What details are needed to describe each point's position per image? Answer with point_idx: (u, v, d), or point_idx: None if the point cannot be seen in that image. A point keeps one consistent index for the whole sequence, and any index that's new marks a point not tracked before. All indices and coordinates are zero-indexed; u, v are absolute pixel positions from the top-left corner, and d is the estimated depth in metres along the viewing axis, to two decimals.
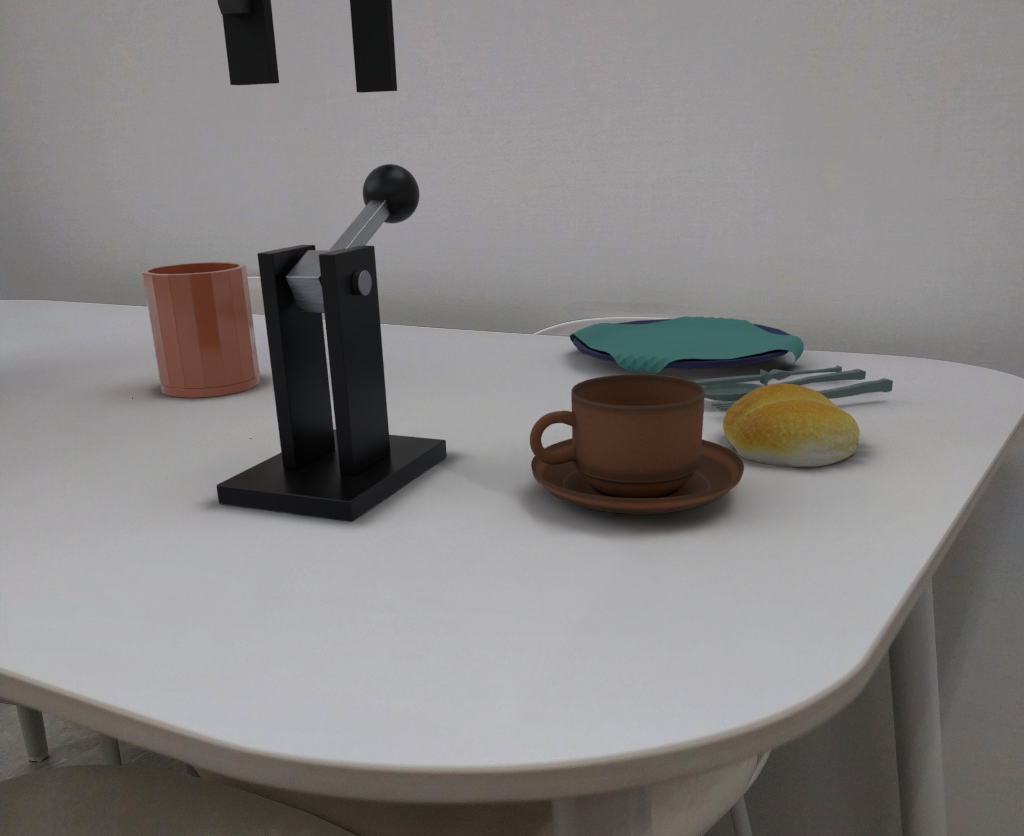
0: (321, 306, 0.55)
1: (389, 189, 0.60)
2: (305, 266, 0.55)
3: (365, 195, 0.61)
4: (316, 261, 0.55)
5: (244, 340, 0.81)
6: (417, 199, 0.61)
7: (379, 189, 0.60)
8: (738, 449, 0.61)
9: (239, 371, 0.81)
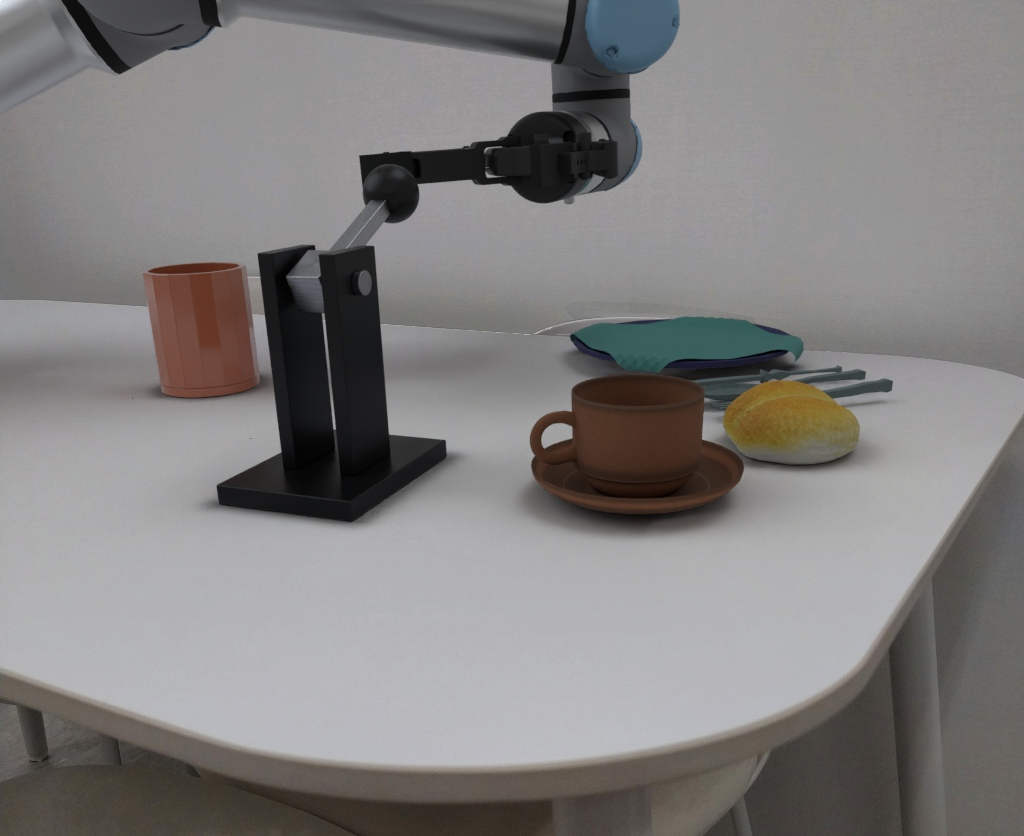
0: (321, 306, 0.55)
1: (389, 189, 0.60)
2: (305, 266, 0.55)
3: (365, 195, 0.61)
4: (316, 261, 0.55)
5: (244, 340, 0.81)
6: (417, 199, 0.61)
7: (379, 189, 0.60)
8: (738, 446, 0.61)
9: (239, 371, 0.81)
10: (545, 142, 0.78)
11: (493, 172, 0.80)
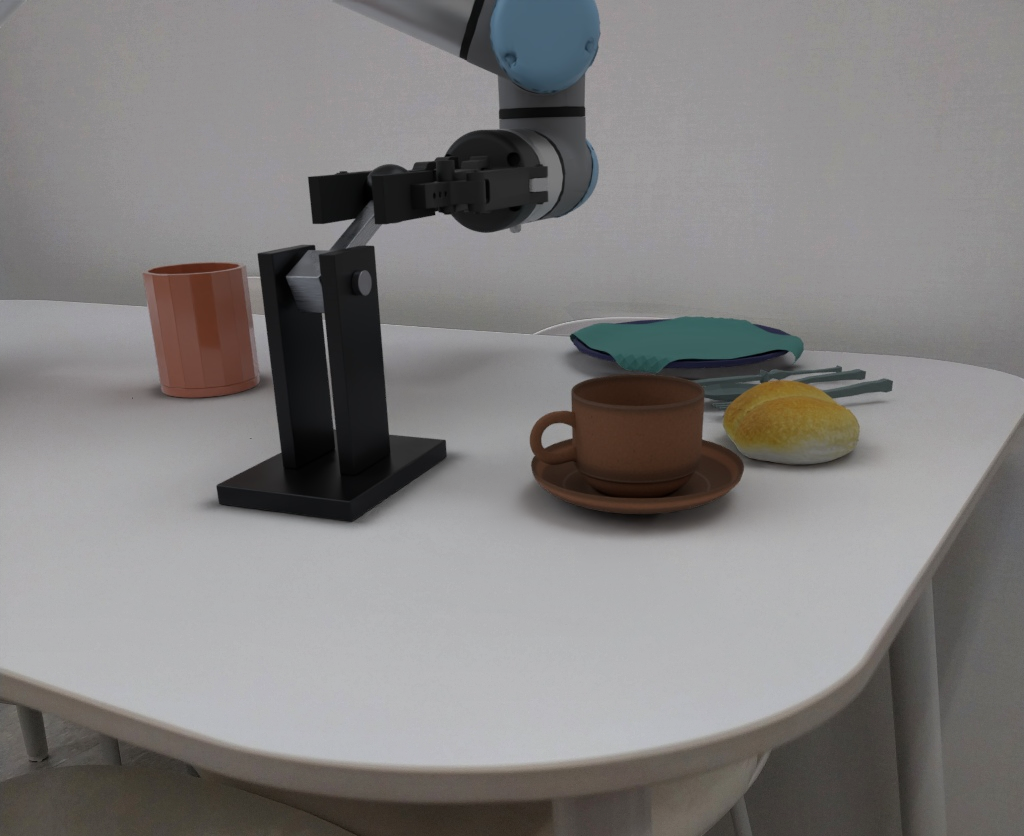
0: (321, 306, 0.55)
1: None
2: (305, 266, 0.55)
3: (365, 195, 0.61)
4: (316, 261, 0.55)
5: (244, 340, 0.81)
6: None
7: None
8: (738, 446, 0.61)
9: (239, 371, 0.81)
10: None
11: None
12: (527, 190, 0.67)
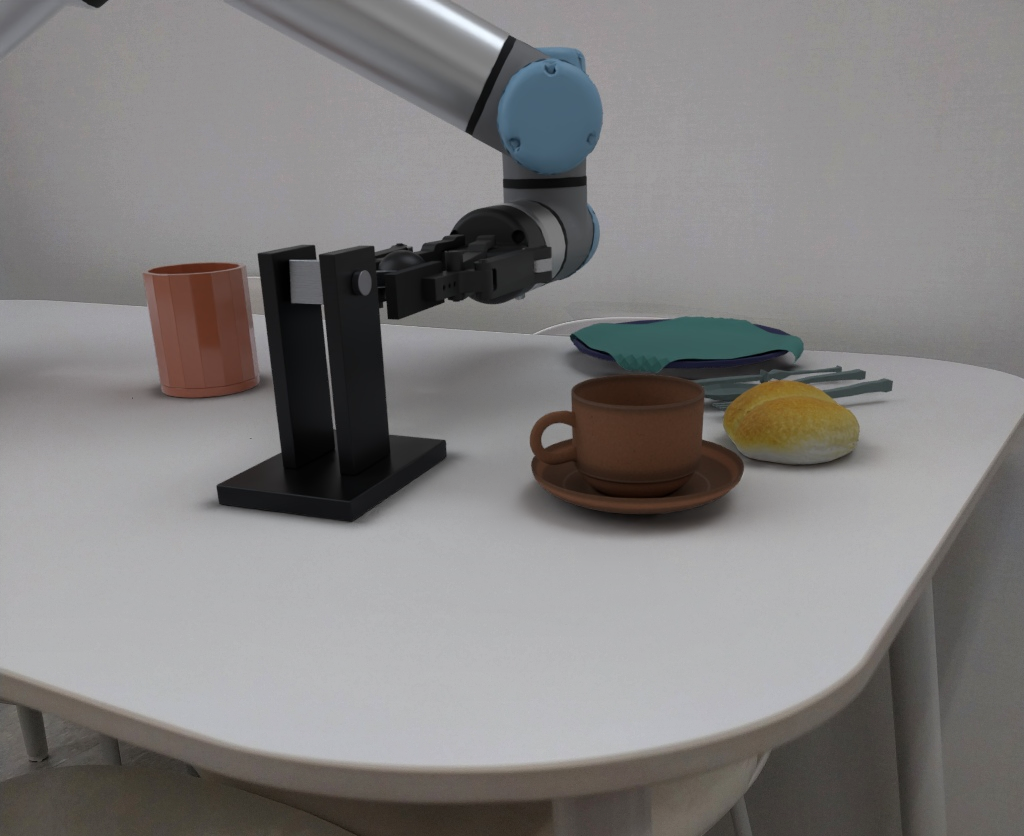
0: (315, 295, 0.54)
1: (404, 263, 0.63)
2: None
3: (379, 268, 0.63)
4: None
5: (244, 340, 0.81)
6: None
7: (394, 261, 0.63)
8: (738, 446, 0.61)
9: (239, 371, 0.81)
10: None
11: None
12: (532, 271, 0.70)
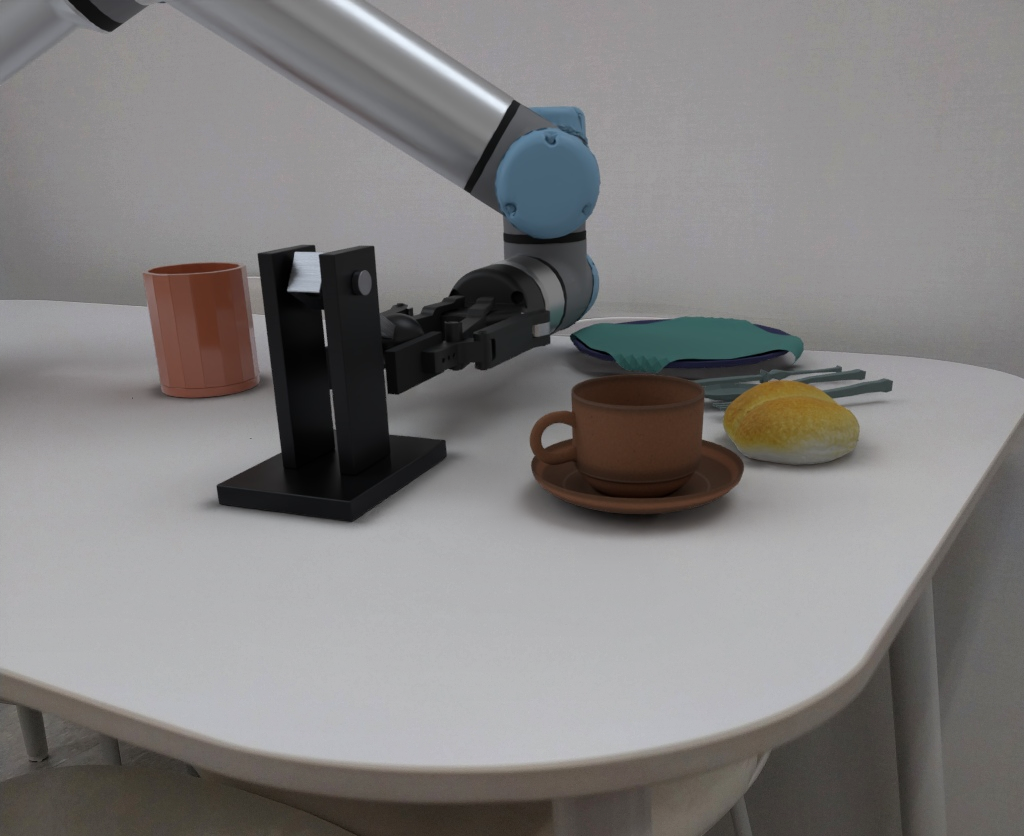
0: (313, 283, 0.54)
1: (402, 320, 0.63)
2: None
3: None
4: None
5: (244, 340, 0.81)
6: None
7: (393, 318, 0.63)
8: (738, 446, 0.61)
9: (239, 371, 0.81)
10: None
11: None
12: (530, 336, 0.71)
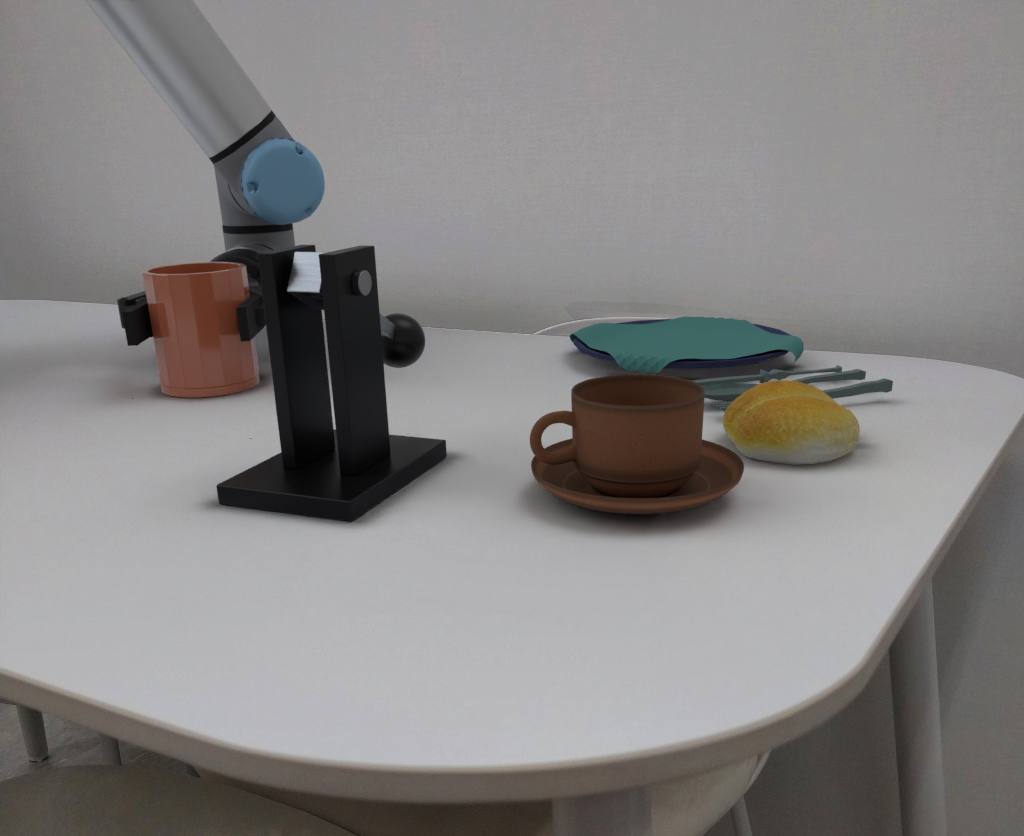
0: (313, 283, 0.54)
1: (402, 320, 0.63)
2: None
3: None
4: None
5: None
6: (420, 348, 0.64)
7: (393, 318, 0.63)
8: (738, 446, 0.61)
9: (239, 371, 0.81)
10: None
11: None
12: None
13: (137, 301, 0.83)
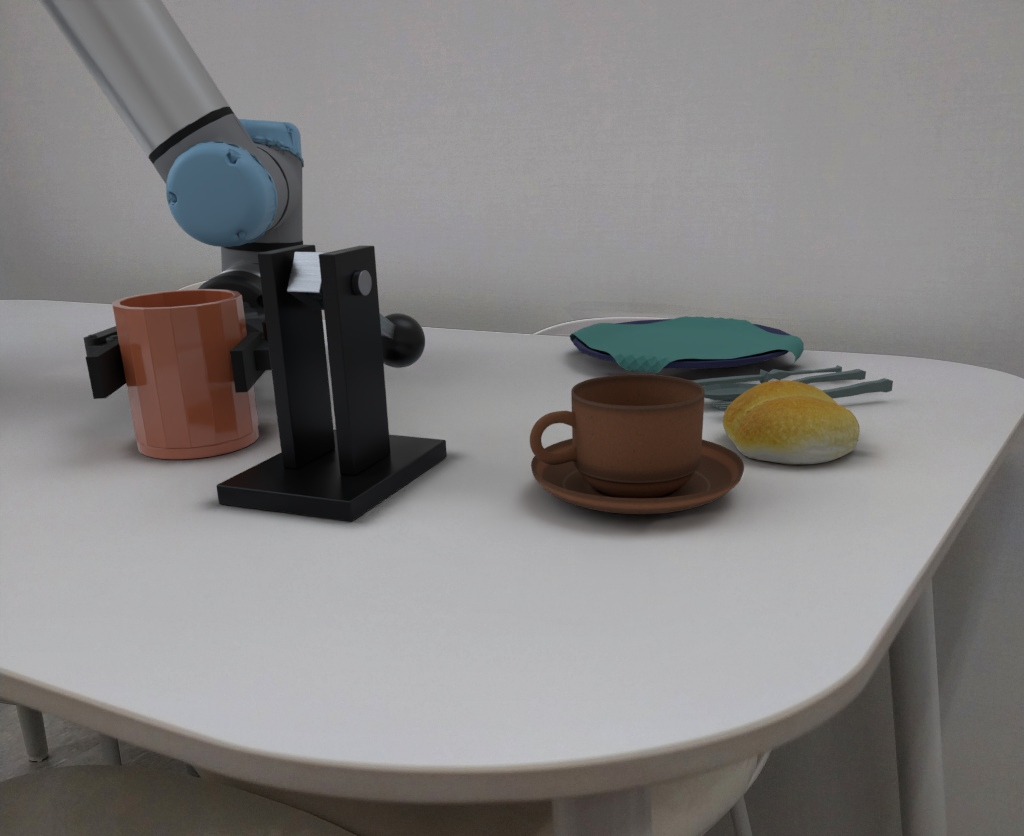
0: (313, 283, 0.54)
1: (402, 320, 0.63)
2: None
3: None
4: None
5: None
6: (420, 348, 0.64)
7: (393, 318, 0.63)
8: (738, 446, 0.61)
9: (233, 426, 0.65)
10: None
11: None
12: None
13: (108, 340, 0.67)
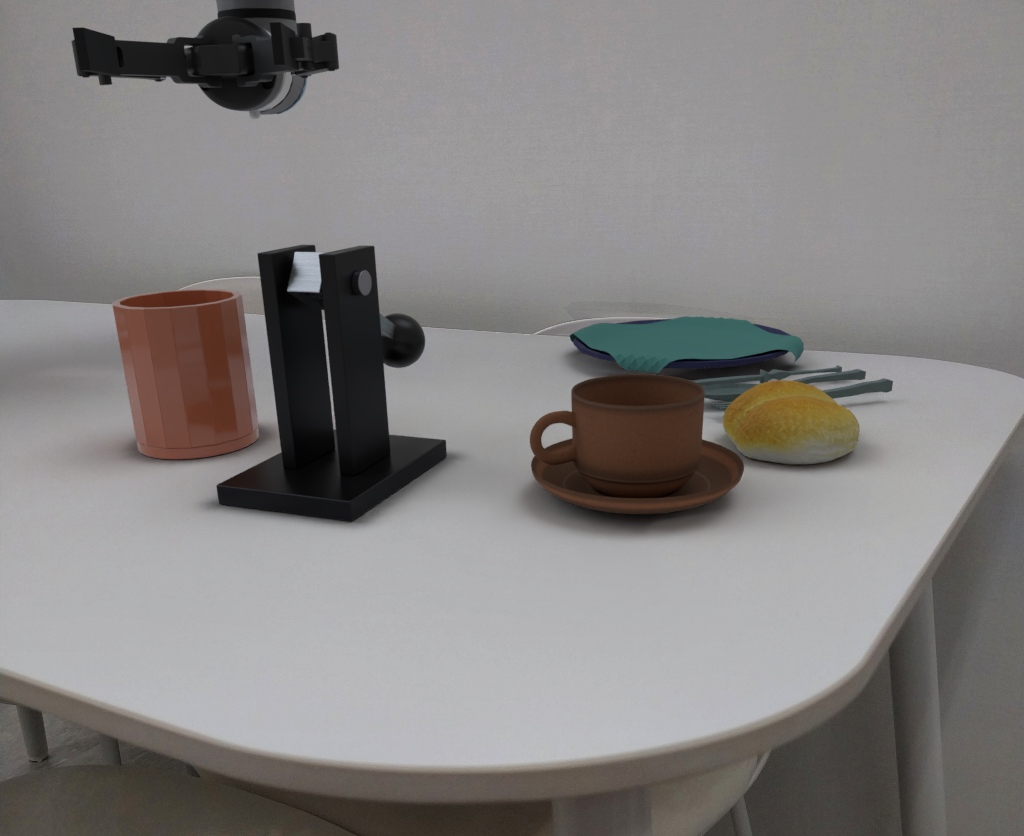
0: (313, 283, 0.54)
1: (402, 320, 0.63)
2: None
3: None
4: None
5: (239, 387, 0.65)
6: (420, 348, 0.64)
7: (393, 318, 0.63)
8: (738, 446, 0.61)
9: (233, 426, 0.65)
10: (250, 40, 0.79)
11: (195, 70, 0.80)
12: None
13: None
